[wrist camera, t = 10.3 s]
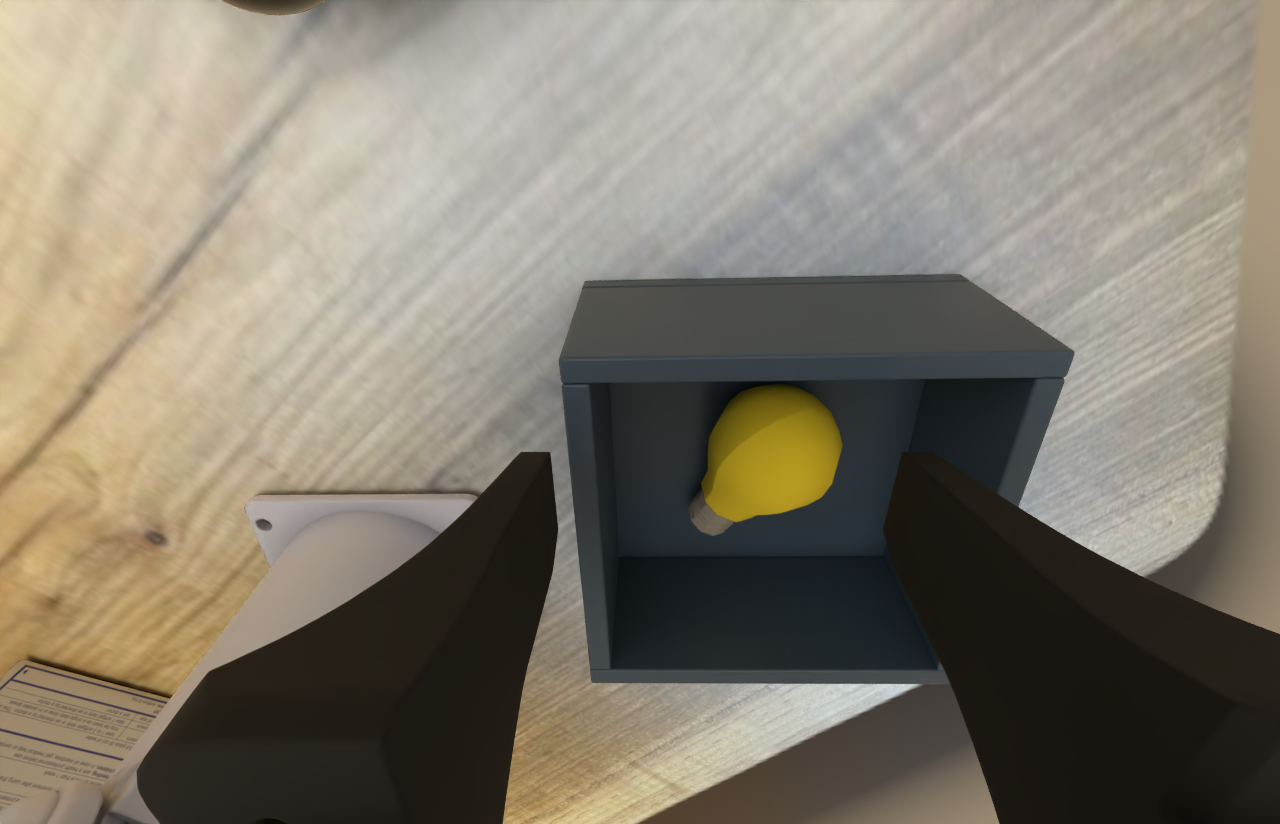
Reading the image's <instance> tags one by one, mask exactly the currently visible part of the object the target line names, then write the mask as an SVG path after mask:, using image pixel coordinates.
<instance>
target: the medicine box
mask: <svg viewBox="0 0 1280 824" xmlns="http://www.w3.org/2000/svg"><path fill="white" fill-rule="evenodd" d="M169 700H170V698H166V697H162V696H158V695H154V694H151V693H147V692H143V691H139V690H136V689H132V688H128V687H124V686H121V685H117V684H113V683H109V682H105V681H102V680H98V679H94V678H90V677H87V676H83V675H79V674H75V673H72V672H68V671H64V670H60V669H56V668H53V667H49V666H45V665H41V664H37V663H34V662H31V661H28V660H20V661H18V662H17V663H16V664H15V665H14V666H13V667H12V668H11V669H10V670H9V671H8V672H7V673H5V674H4V675H3V676H2V677H1V678H0V813H1V812H2V811H3V810H5V809H6V808H7V807H9V806H10V805H11V804H13V803H15V802H17V801H19V800H21V799H24V798H27V797H30V796H33V795H36V794H39V793H42V792H45V791H51V790H52V789H53V788H55V787H57V786H58V785H60V784H62V783H65V782H68V781H71V780H75V779H76V780H82V781H84V782H86V783H88V784H91V785H93V786H95V787H97V788H98V787H99V786H101V785H102V784H104V783H105V782H107V780H108V779H109V778H110V777H111V775H112V774H113V773H114V771H115V770H116V769H117V767H118V766H119V765H120V764H121V762H122V761H123V760H124V758H125V757H126V756H127V754H128V753H129V752H130V751H131V749H132V748H133V747H134V745H135V744H136V743H137V741H138V740H139V739H140V737H141V736H142V735H143V734H144V732H145V731H146V730H147V728H148V727H149V726H150V724H151V723H152V722H153V721H154V719H155V718H156V717H157V715H158V714H159V713H160V711H161V710H162V709H163V708H164V706H165V705H166V704H167V702H168V701H169Z"/></svg>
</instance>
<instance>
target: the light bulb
mask: <svg viewBox="0 0 1280 824" xmlns="http://www.w3.org/2000/svg"><path fill="white" fill-rule="evenodd" d="M842 446H843V445H842V441H841V436H840V432H839V429H838V427H837V425H836V422H835V420H834V418H833V415H832V413H831V412H830V411H829V410H828V409H827V408H826V407H825V406H824V405H823V404H822V403H821V402H820V401H819V400H818V399H817V398H816V397H815V396H814V395H813V394H811V393H808V392H806V391H804V390H802V389H800V388H797V387H795V386H793V385H786V384H774V385H765V386H757V387H754V388H751V389H747V390H744V391H741V392H740V393H739V394H737V395H736V396H735V397H734V398H733V399H731V400H730V401H729V402H728V404H727V406H726V407H725V409H724V411H723V413H722V414H721V416H720V418H719V420H718V422H717V423H716V425H715V427H714V429H713V431H712V433H711V435H710V436H709V444H708V471H707V473H706V475H705V477H704V478H703V480H702V482H701V486H702V489H701V491H700V492H699V493H698V494H697V495H696V496H695V498H693V500H692V501H691V503H690V505H689V507H688V511H689V515H690V520H691V521H692V523H693V524H694V525H695V526H696V527H697V528H698V529H699V530H700V531H701V532H703V533H706V534H709V535H711V536H715V535H718V534H722V533H724V531H725V530H726V529H728V527H730V526H731V525H732V524H733V523H734V522H740V521H743V520H747V519H750V518H752V517H754V516H756V515H770V514H778V513H783V512H786V511H790V510H793V509H796V508H800V507H803V506H806V505H808V504H810V503H812V502H814V501H816V500H818V499H820V498H821V497H822V496H823V495H824V494H825V492H826V491H827V490H828V488H829V487H830V486H831V485H832V482H833V479H834V475H835V472H836V468H837V464H838V461H839V457H840V454H841V450H842Z"/></svg>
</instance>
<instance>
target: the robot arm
mask: <svg viewBox="0 0 1280 824" xmlns="http://www.w3.org/2000/svg"><path fill="white" fill-rule="evenodd" d="M245 513H246V515H247V517H248V520H249V522H250V524H251V526H252V528H253V531H254V533H255V535H256V537H257V540H258V542H259V544H260V546H261V548H262V551H263V553H264V555H265V557H266V560H267V562H268V564H269V566H270V570H269V571H268V572H267V573H266V575H265V576H264V577H263V579H262V580H261V581H260V583H259V584H258V585H257V587H256V588H255V589H254V590H253V592H252V593H251V594H250V596H249V597H248V598H247V600H246V601H245V602H244V603H243V605H242V606H241V607H240V609H239V610H238V611H237V613H236V614H235V615H234V616H233V618H232V619H231V620H230V622H229V623H228V624H227V626H226V627H225V628H224V629H223V631H222V632H221V633H220V635H219V636H218V637H217V639H216V640H215V641H214V642H213V644H212V645H211V646H210V648H209V649H208V650H207V652H206V653H205V654H204V655H203V657H202V658H201V659H200V661H199V662H198V663H197V665H196V666H195V667H194V669H193V670H192V671H191V672H190V674H189V675H188V676H187V678H186V679H185V680H184V682H183V683H182V684H181V685H180V687H179V688H178V689H177V691H176V692H175V693H174V695H173V696H172V697H171V698H170V700H169V701H168V702H167V704H166V705H165V706H164V708H163V709H162V710H161V711H160V713H159V714H158V715H157V717H156V718H155V719H154V721H153V722H152V723H151V724H150V726H149V727H148V728H147V730H146V731H145V732H144V734H143V735H142V736H141V737H140V739H139V740H138V741H137V743H136V744H135V745H134V747H133V748H132V749H131V751H130V752H129V753H128V754H127V756H126V757H125V758H124V760H123V761H122V762H121V764H120V765H119V766H118V767H117V769H116V770H115V771H114V773H113V774H112V775H111V777H110V778H109V779H108V780H107V782H105V783H104V784H102V785H101V786H99V787H98V788H97V787H95V786H93V785H91V784H88V783H86V782H84V781H82V780H76V779H75V780H71V781H68V782H65V783H62V784H60V785H58V786H57V787H55V788H53V789H52V790H51V791H45V792H42V793H39V794H36V795H33V796H30V797H27V798H24V799H21V800H19V801H17V802H15V803H13V804H11V805H10V806H9V807H7V808H6V809H5V810H3V811H2V812H1V813H0V824H503V816H504V809H505V801H506V794H507V787H508V780H509V773H510V766H511V759H512V753H513V746H514V739H515V733H516V727H517V720H518V714H519V708H520V702H521V695H522V689H523V685H524V680H525V676H526V671H527V667H528V663H529V659H530V655H531V652H532V648H533V644H534V640H535V637H536V633H537V629H538V625H539V622H540V618H541V614H542V610H543V607H544V603H545V599H546V595H547V591H548V587H549V584H550V580H551V576H552V572H553V565H554V558H555V550H556V542H557V534H558V523H557V513H556V503H555V494H554V484H553V474H552V465H551V455H550V452H521V453H520V454H519V455H518V456H517V457H516V458H515V459H514V460H513V461H512V462H511V463H510V464H509V465H508V466H507V467H506V468H505V469H504V471H503V472H502V473H501V474H500V475H499V476H498V477H497V478H496V479H495V480H494V481H493V483H492V484H491V485H490V486H489V487H488V488H487V489H486V490H485V491H484V492H483V493H482V494H481V495H480V496H479V497H476V496H474V495H472V494H342V495H258V496H254V497H253V498H251V499H250V500H249V501H248V502H247V504H246V505H245ZM266 520H267V521H269V522H270V523H269V522H267V521H266ZM883 532H884V536H885V539H886V542H887V545H888V549H889V552H890V555H891V558H892V561H893V564H894V567H895V570H896V573H897V575H898V577H899V579H900V581H901V583H902V586H903V588H904V590H905V592H906V594H907V596H908V598H909V600H910V602H911V604H912V606H913V608H914V610H915V612H916V614H917V616H918V618H919V620H920V622H921V624H922V626H923V628H924V630H925V632H926V635H927V637H928V639H929V641H930V643H931V645H932V647H933V649H934V651H935V653H936V655H937V657H938V659H939V661H940V663H941V665H942V667H943V669H944V671H945V673H946V675H947V678H948V680H949V682H950V684H951V686H952V689H953V691H954V693H955V696H956V699H957V701H958V704H959V707H960V710H961V712H962V715H963V718H964V720H965V723H966V726H967V728H968V731H969V734H970V736H971V739H972V742H973V745H974V748H975V751H976V753H977V756H978V759H979V762H980V765H981V768H982V771H983V774H984V777H985V780H986V783H987V786H988V788H989V792H990V795H991V797H992V801H993V804H994V807H995V810H996V814H997V817H998V820H999V823H1000V824H1280V634H1278V633H1275V632H1272V631H1270V630H1267V629H1264V628H1262V627H1259V626H1256V625H1254V624H1251V623H1248V622H1246V621H1243V620H1241V619H1238V618H1236V617H1233V616H1231V615H1228V614H1226V613H1223V612H1221V611H1218V610H1216V609H1213V608H1211V607H1209V606H1206V605H1204V604H1202V603H1199V602H1197V601H1195V600H1193V599H1190V598H1188V597H1186V596H1183V595H1181V594H1179V593H1177V592H1174V591H1172V590H1170V589H1167V588H1165V587H1163V586H1161V585H1159V584H1156V583H1154V582H1152V581H1150V580H1148V579H1146V578H1144V577H1142V576H1140V575H1138V574H1136V573H1134V572H1132V571H1130V570H1128V569H1126V568H1124V567H1122V566H1120V565H1118V564H1116V563H1114V562H1112V561H1110V560H1108V559H1106V558H1104V557H1102V556H1100V555H1098V554H1096V553H1095V552H1093V551H1091V550H1089V549H1087V548H1085V547H1084V546H1082V545H1080V544H1078V543H1077V542H1075V541H1073V540H1071V539H1070V538H1068V537H1066V536H1065V535H1063V534H1061V533H1059V532H1058V531H1056V530H1054V529H1053V528H1051V527H1049V526H1048V525H1046V524H1044V523H1043V522H1041V521H1039V520H1038V519H1036V518H1035V517H1033V516H1031V515H1030V514H1028V513H1026V512H1025V511H1023V510H1022V509H1020V508H1019V507H1017V506H1015V505H1014V504H1012V503H1011V502H1009V501H1008V500H1006V499H1005V498H1003V497H1002V496H1000V495H999V494H997V493H996V492H994V491H993V490H991V489H989V488H988V487H986V486H985V485H983V484H982V483H980V482H979V481H977V480H976V479H974V478H973V477H971V476H970V475H968V474H967V473H965V472H964V471H962V470H961V469H959V468H958V467H956V466H955V465H953V464H951V463H950V462H948V461H947V460H945V459H943V458H942V457H940V456H938V455H936V454H934V453H933V452H902V454H901V458H900V462H899V466H898V470H897V474H896V478H895V482H894V486H893V490H892V494H891V499H890V503H889V507H888V511H887V515H886V519H885V523H884V527H883Z"/></svg>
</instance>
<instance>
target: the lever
mask: <svg viewBox="0 0 1280 824" xmlns="http://www.w3.org/2000/svg"><path fill="white" fill-rule="evenodd" d="M222 1H224V2H226V3H228V4H230V5H233V6H235V7H238V8H241V9H244V10H248V11H251V12H256V13H262V14H268V15H286V14H295V13H300V12H304V11H307V10H309V9H312V8H314V7H316V6H318V5H320V4H322V3H323V2H325V1H326V0H222Z"/></svg>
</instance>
